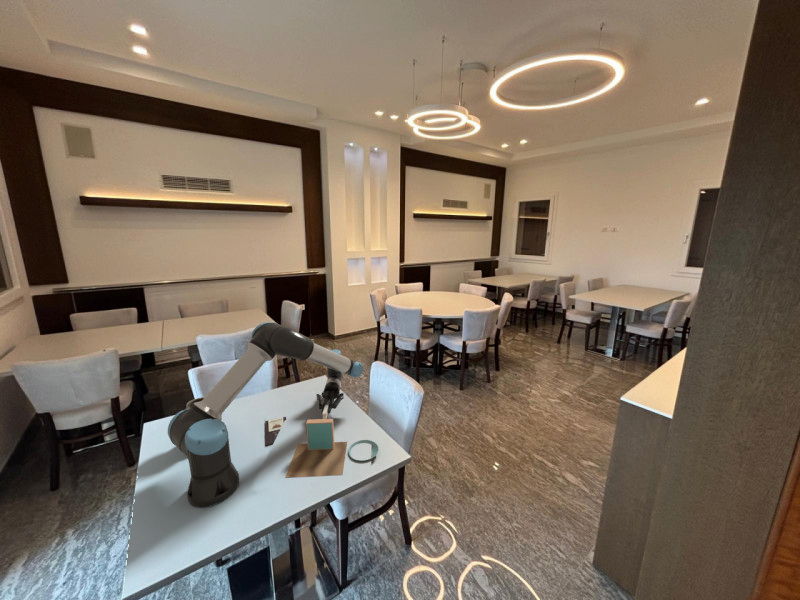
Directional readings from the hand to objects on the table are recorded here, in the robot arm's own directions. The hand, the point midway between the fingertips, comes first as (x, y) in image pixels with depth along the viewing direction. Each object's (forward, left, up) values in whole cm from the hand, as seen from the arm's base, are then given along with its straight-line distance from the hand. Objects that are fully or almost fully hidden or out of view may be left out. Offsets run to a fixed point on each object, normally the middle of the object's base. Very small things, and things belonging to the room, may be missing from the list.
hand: (324, 416), depth 131 cm
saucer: (+17, -12, -10) cm, 23 cm away
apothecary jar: (-50, 0, -10) cm, 51 cm away
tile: (0, -9, -8) cm, 12 cm away
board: (0, -15, -10) cm, 18 cm away
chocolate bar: (-22, +5, -10) cm, 25 cm away
